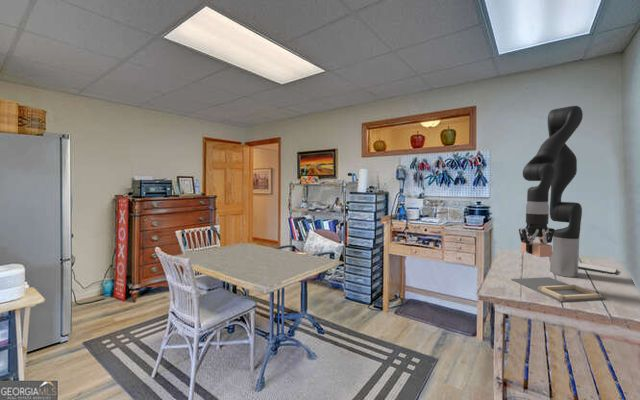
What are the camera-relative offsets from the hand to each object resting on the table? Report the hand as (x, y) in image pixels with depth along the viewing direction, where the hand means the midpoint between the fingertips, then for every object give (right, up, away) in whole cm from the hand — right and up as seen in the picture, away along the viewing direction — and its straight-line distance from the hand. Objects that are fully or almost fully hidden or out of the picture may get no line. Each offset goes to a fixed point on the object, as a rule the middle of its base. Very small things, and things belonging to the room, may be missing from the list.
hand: (535, 252), depth 122 cm
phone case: (+43, -12, +20) cm, 49 cm away
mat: (+4, -14, -5) cm, 15 cm away
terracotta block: (0, 0, 0) cm, 0 cm away
